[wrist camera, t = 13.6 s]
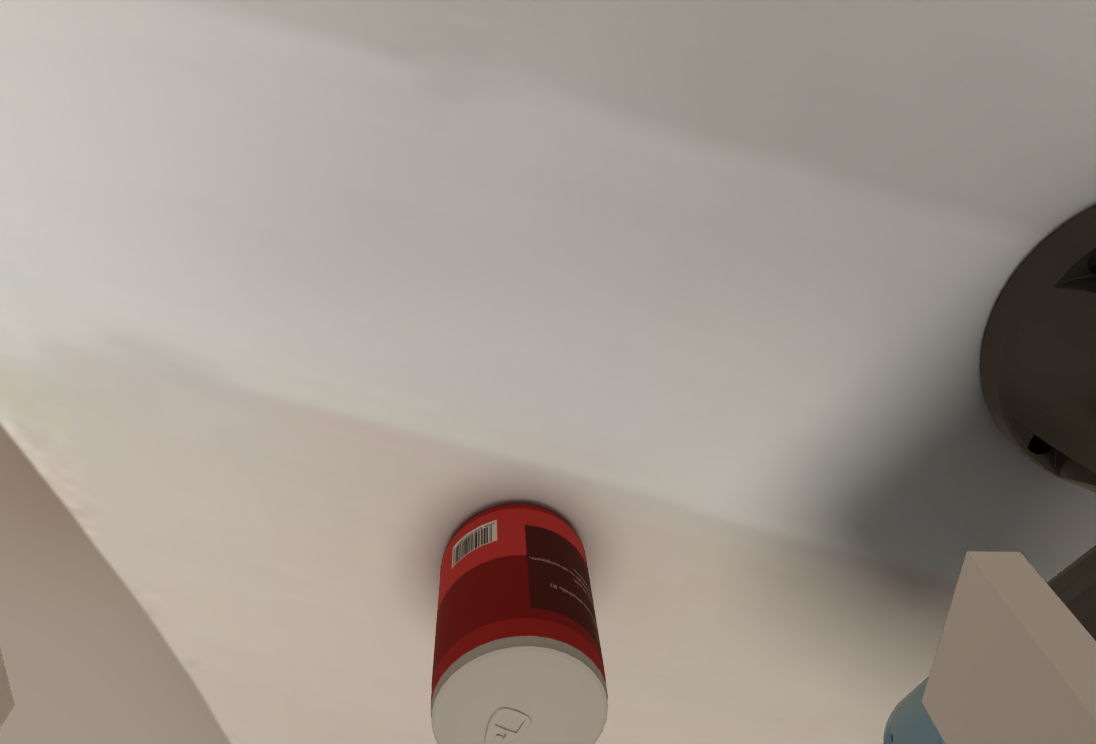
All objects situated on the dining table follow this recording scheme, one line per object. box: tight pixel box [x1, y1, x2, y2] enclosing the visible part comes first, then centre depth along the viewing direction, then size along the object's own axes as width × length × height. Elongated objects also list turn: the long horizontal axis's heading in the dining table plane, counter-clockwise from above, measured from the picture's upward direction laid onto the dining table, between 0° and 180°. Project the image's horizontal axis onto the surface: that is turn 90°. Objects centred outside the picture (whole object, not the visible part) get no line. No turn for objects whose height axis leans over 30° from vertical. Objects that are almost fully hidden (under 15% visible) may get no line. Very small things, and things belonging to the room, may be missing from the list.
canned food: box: [431, 503, 608, 744], centre depth 45 cm, size 8×8×11 cm
